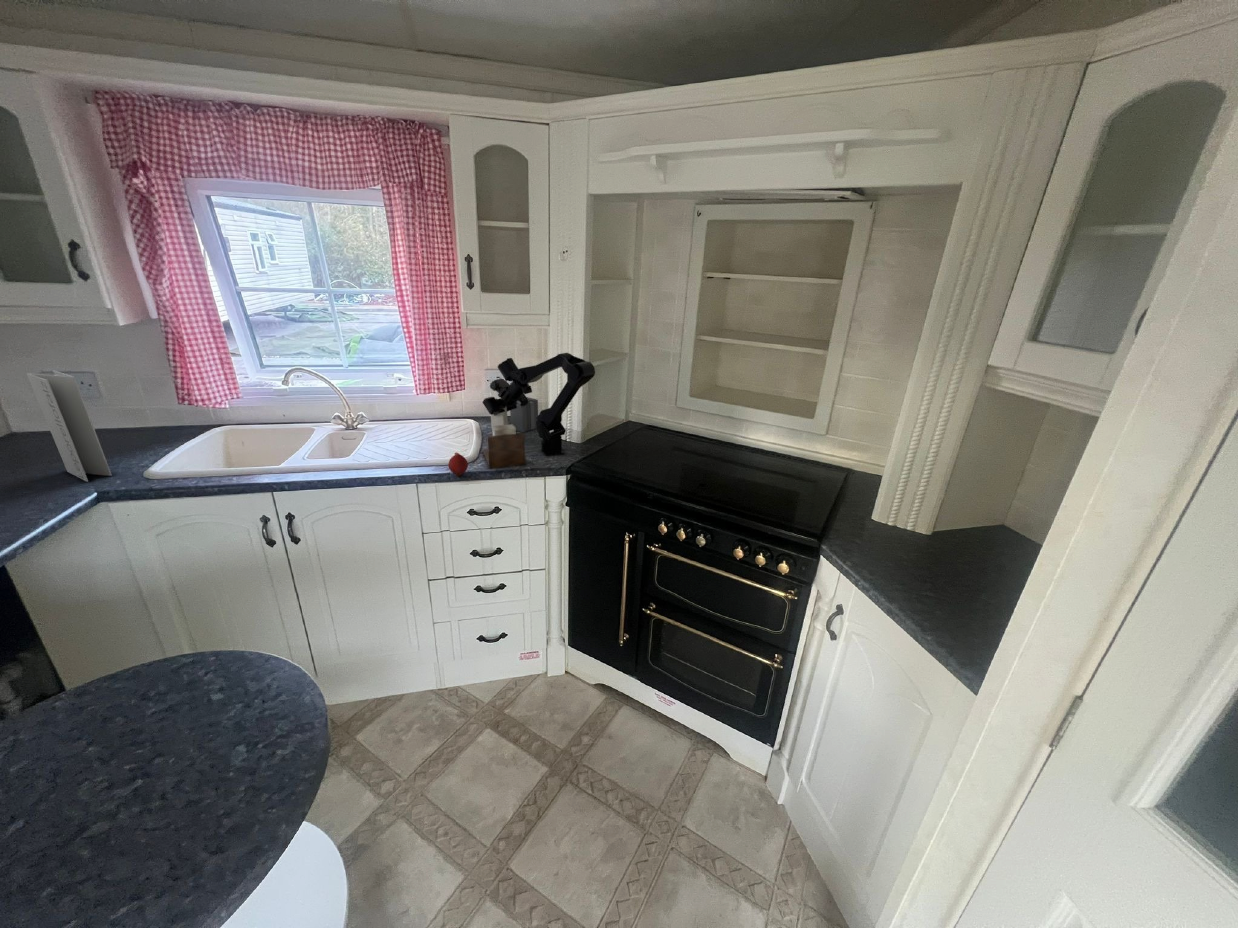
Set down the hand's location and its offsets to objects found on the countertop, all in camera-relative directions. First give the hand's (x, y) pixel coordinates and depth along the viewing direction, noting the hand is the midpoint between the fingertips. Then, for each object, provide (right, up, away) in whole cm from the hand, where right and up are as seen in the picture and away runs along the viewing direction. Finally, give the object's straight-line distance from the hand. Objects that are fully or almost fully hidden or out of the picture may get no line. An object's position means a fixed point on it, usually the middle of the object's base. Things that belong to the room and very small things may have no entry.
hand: (496, 413), depth 192 cm
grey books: (+9, -5, +13) cm, 16 cm away
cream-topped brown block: (+7, -18, -19) cm, 27 cm away
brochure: (-112, -23, -43) cm, 123 cm away
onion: (-3, -23, -34) cm, 42 cm away
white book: (+1, -7, +2) cm, 7 cm away
